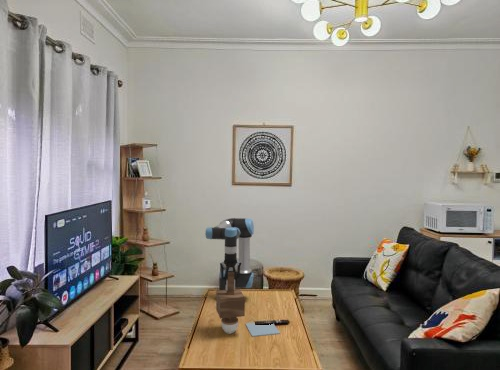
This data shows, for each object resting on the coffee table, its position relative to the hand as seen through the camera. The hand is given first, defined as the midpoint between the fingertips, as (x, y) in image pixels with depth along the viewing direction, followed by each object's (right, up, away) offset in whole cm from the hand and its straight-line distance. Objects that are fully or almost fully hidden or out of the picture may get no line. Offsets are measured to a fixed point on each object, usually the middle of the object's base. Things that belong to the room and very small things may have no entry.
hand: (230, 289), depth 224 cm
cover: (0, -15, +1) cm, 15 cm away
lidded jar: (0, -27, +1) cm, 27 cm away
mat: (+20, -27, +5) cm, 34 cm away
